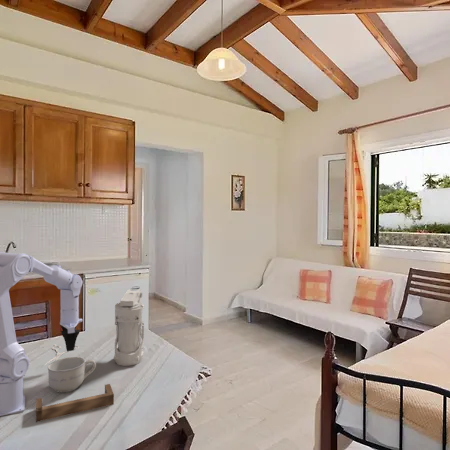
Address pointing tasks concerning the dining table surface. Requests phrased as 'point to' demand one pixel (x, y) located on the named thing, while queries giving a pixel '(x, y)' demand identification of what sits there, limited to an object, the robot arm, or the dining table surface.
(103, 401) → the dock
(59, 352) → the scissors
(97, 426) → the dining table surface
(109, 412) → the dining table surface
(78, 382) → the teacup
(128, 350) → the lantern
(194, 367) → the dining table surface
